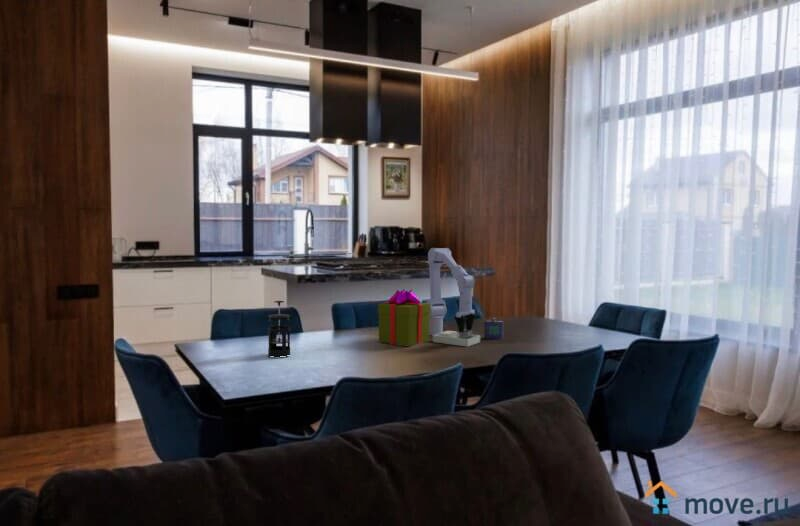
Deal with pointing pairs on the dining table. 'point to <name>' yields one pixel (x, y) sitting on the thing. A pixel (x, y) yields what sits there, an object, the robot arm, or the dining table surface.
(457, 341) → the tote
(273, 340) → the french press
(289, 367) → the dining table surface
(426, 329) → the gift box
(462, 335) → the tin
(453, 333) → the egg box
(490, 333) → the flask
